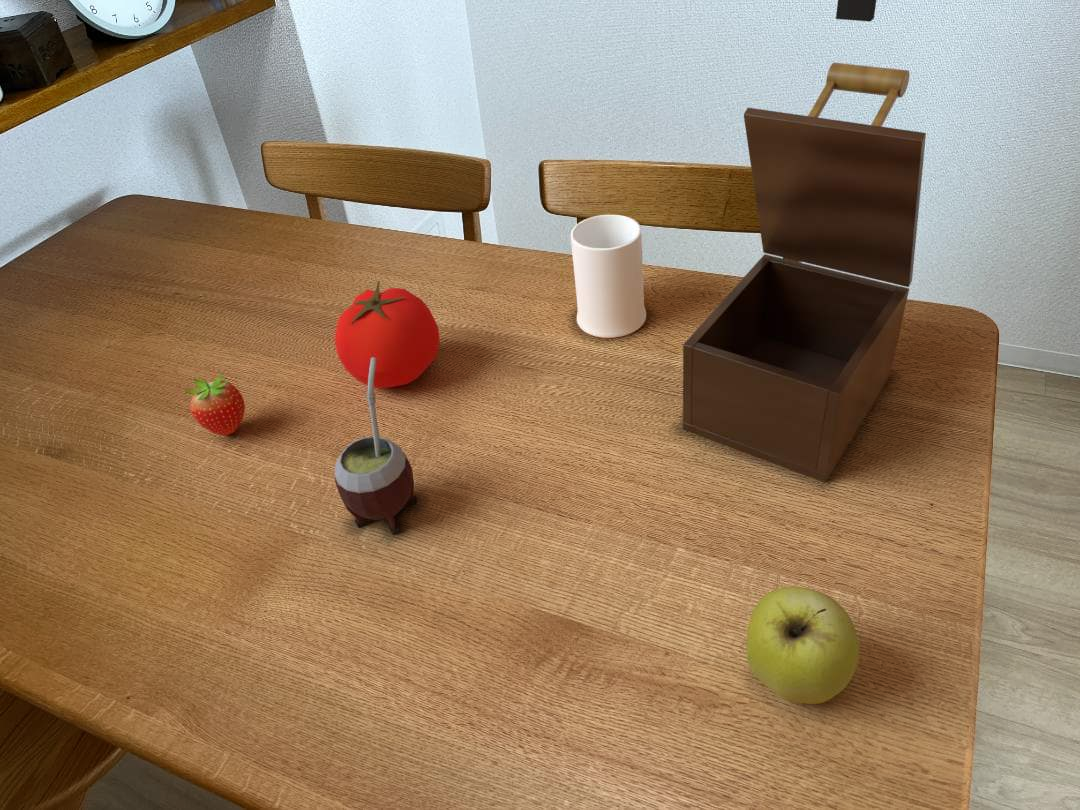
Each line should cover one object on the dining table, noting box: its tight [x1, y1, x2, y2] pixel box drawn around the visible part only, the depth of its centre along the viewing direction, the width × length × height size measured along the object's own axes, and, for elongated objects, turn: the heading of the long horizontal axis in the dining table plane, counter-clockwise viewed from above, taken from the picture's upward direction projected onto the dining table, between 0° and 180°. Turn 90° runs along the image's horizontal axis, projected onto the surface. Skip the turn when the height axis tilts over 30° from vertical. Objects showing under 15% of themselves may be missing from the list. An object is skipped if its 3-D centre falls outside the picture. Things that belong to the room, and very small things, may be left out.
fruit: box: [182, 373, 246, 436], centre depth 88 cm, size 5×5×8 cm
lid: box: [743, 62, 927, 288], centre depth 76 cm, size 19×15×10 cm
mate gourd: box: [334, 358, 418, 536], centre depth 75 cm, size 8×8×15 cm
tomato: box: [334, 280, 441, 389], centre depth 92 cm, size 12×12×11 cm
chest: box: [682, 253, 910, 483], centre depth 81 cm, size 18×15×11 cm
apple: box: [746, 586, 860, 705], centre depth 59 cm, size 8×8×10 cm
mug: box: [570, 214, 647, 339], centre depth 97 cm, size 12×8×12 cm
